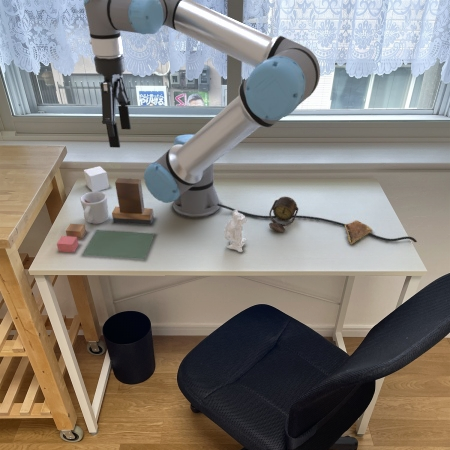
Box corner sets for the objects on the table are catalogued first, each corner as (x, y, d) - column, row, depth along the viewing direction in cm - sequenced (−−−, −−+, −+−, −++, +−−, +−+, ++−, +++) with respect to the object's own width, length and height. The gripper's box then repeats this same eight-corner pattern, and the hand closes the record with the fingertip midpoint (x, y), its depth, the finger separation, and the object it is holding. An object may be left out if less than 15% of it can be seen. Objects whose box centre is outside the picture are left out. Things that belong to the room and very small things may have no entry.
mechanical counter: (310, 205, 136) (285, 188, 140) (286, 217, 129) (261, 199, 132) (301, 224, 141) (278, 207, 145) (278, 236, 134) (254, 219, 137)
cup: (101, 232, 134) (96, 209, 129) (77, 229, 135) (71, 206, 130) (114, 214, 142) (110, 192, 137) (91, 212, 143) (86, 189, 138)
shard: (350, 246, 129) (351, 241, 128) (330, 235, 134) (331, 230, 133) (372, 233, 135) (374, 228, 133) (352, 223, 139) (353, 218, 138)
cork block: (86, 232, 134) (84, 224, 132) (82, 240, 131) (80, 231, 129) (72, 231, 134) (70, 223, 132) (67, 239, 131) (65, 230, 129)
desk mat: (154, 234, 133) (154, 233, 133) (144, 260, 124) (144, 258, 123) (97, 231, 135) (97, 230, 134) (82, 256, 125) (82, 254, 125)
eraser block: (79, 245, 129) (76, 236, 127) (74, 253, 126) (71, 244, 124) (64, 244, 129) (61, 235, 127) (59, 252, 126) (56, 243, 124)
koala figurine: (248, 254, 126) (250, 217, 118) (225, 255, 126) (225, 218, 118) (245, 238, 132) (247, 202, 124) (223, 238, 132) (223, 203, 124)
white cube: (109, 188, 156) (106, 172, 152) (93, 192, 154) (90, 176, 150) (102, 181, 160) (99, 165, 156) (86, 185, 157) (83, 170, 153)
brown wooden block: (153, 219, 140) (149, 178, 131) (151, 225, 137) (146, 185, 128) (117, 217, 141) (110, 176, 132) (113, 223, 138) (106, 182, 129)
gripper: (106, 44, 122) (118, 121, 136) (79, 67, 103) (96, 154, 117) (133, 44, 122) (142, 122, 136) (110, 68, 103) (123, 155, 117)
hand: (120, 137), depth 127 cm, fingers open, 13 cm apart
